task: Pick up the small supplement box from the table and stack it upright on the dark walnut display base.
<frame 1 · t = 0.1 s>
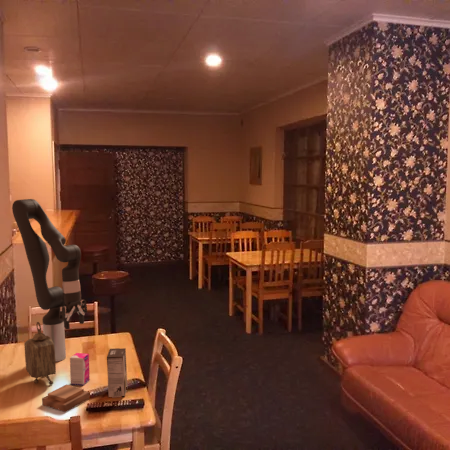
hand: (74, 326, 223), 17 cm above the table, tool pointing down, fingers open, 8 cm apart
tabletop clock: (41, 382, 206), on the table
supplement box: (80, 383, 205), on the table
coffee box: (118, 392, 195), on the table
walnut base: (66, 401, 188), on the table
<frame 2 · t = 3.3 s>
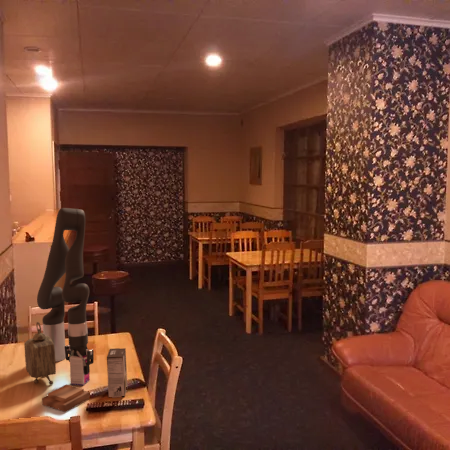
hand: (80, 372, 204), 4 cm above the table, tool pointing down, fingers closed on supplement box, 6 cm apart
supplement box: (80, 382, 205), on the table, touching gripper
everything else where it was.
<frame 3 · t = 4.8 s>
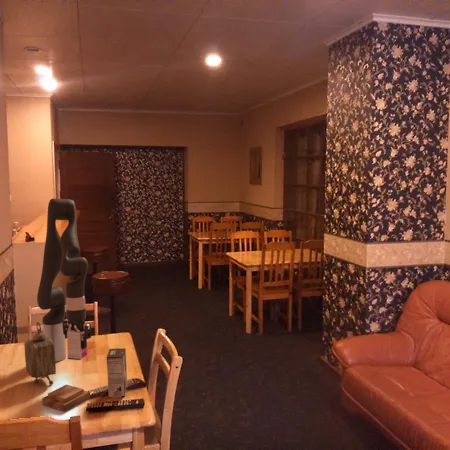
hand: (77, 346, 203), 15 cm above the table, tool pointing down, fingers closed on supplement box, 6 cm apart
supplement box: (77, 357, 204), point 10 cm above the table, touching gripper
everything else where it was.
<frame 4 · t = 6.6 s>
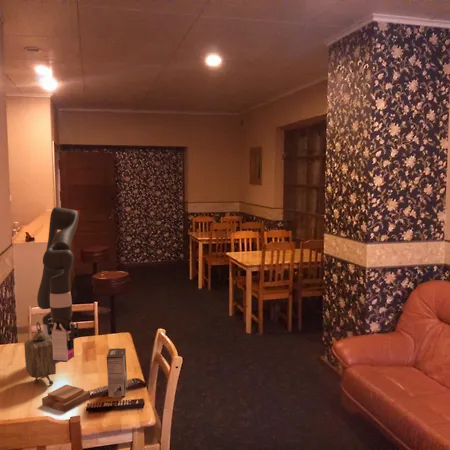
hand: (63, 347, 186), 21 cm above the table, tool pointing down, fingers closed on supplement box, 6 cm apart
supplement box: (64, 359, 186), point 16 cm above the table, touching gripper
everything else where it was.
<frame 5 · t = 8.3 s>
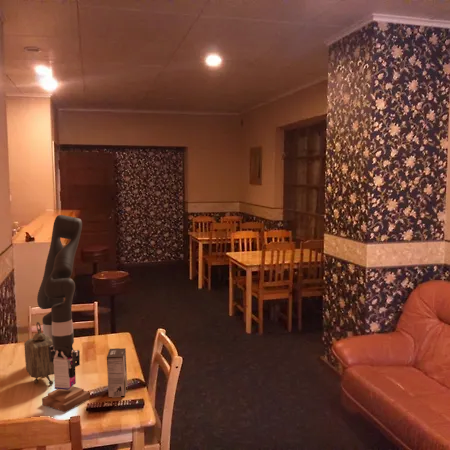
hand: (65, 375, 187), 10 cm above the table, tool pointing down, fingers closed on supplement box, 6 cm apart
supplement box: (65, 386, 187), point 6 cm above the table, touching gripper
everything else where it was.
when the fingers open (10 cm above the table, at t = 9.5 s): supplement box drops 1 cm, resting on walnut base.
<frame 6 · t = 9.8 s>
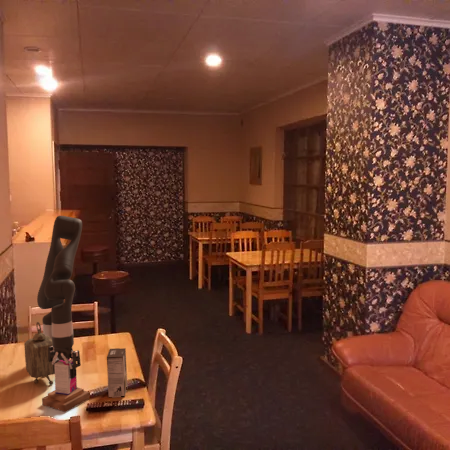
hand: (64, 375, 187), 10 cm above the table, tool pointing down, fingers open, 8 cm apart
supplement box: (66, 391, 187), point 4 cm above the table, touching walnut base
everything else where it was.
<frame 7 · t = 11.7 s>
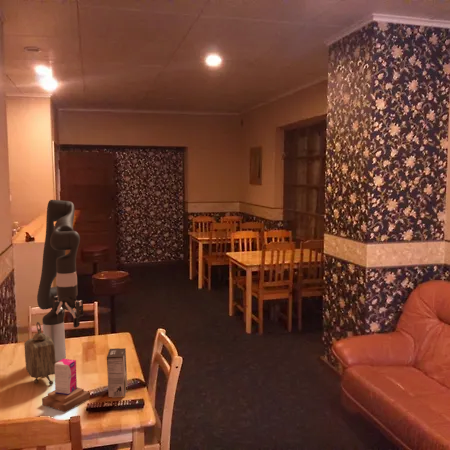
hand: (68, 324, 192), 27 cm above the table, tool pointing down, fingers open, 8 cm apart
nothing on the table moved.
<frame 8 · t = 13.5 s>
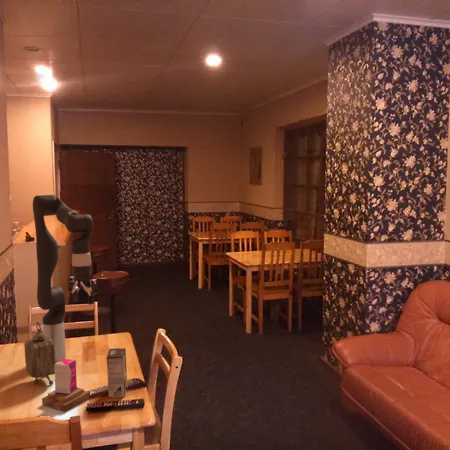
hand: (83, 303, 205), 32 cm above the table, tool pointing down, fingers open, 8 cm apart
nothing on the table moved.
at the end: supplement box inside the target area on the walnut base (0.2 cm from its centre), point 3.8 cm above the walnut base's base; supplement box tilted 0°; the gripper is holding nothing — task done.
